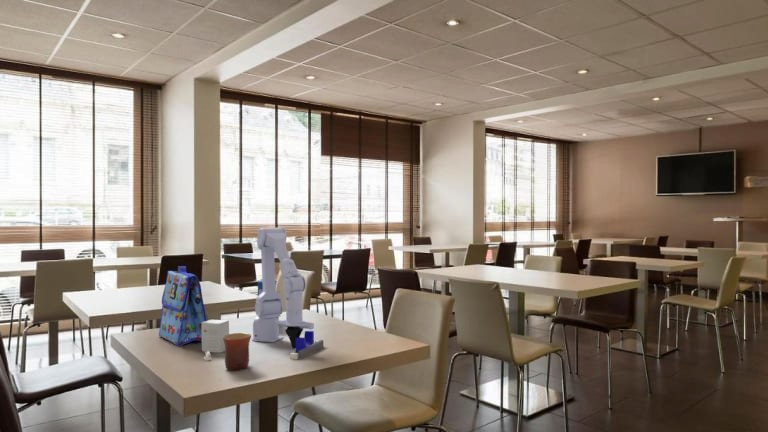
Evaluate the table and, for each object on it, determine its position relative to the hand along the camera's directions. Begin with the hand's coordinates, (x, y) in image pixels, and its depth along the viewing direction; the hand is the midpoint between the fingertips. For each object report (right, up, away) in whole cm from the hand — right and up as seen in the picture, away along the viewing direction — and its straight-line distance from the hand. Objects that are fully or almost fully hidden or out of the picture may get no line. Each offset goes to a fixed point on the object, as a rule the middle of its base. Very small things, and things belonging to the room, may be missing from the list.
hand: (294, 347), depth 185 cm
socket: (+5, -1, -2) cm, 6 cm away
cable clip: (+3, -1, 0) cm, 3 cm away
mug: (-15, -1, -19) cm, 24 cm away
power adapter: (-29, -2, -11) cm, 31 cm away
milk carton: (-20, -1, +43) cm, 47 cm away
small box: (-29, -2, +1) cm, 29 cm away
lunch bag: (-47, -2, +19) cm, 51 cm away
